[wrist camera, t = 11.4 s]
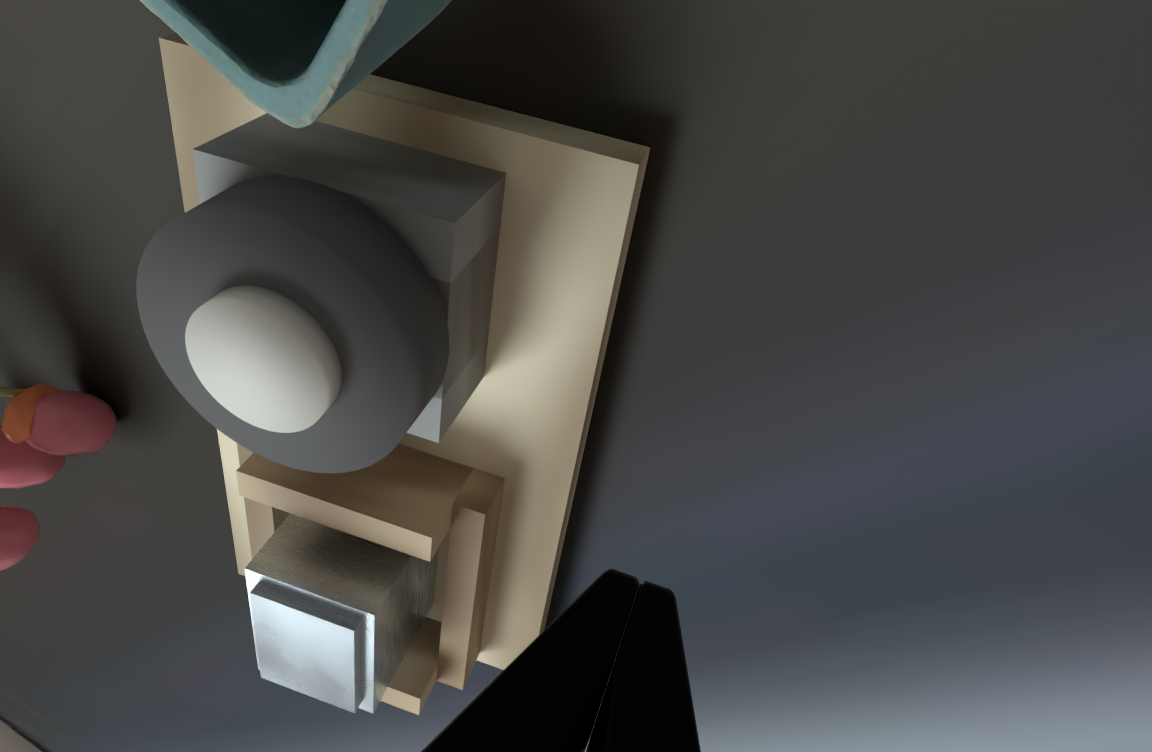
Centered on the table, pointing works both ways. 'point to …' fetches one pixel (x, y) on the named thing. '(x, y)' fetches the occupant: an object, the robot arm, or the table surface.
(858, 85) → the table surface
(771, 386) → the table surface
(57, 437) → the anatomy model
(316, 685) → the brushed metal cube
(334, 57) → the flower pot
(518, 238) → the chassis board
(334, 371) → the grey rounded knob
